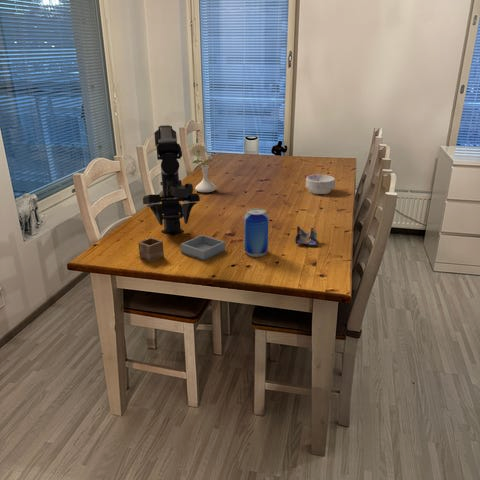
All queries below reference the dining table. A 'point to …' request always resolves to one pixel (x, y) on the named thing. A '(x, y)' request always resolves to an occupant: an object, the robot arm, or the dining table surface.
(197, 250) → the grey crate
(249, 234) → the beer can
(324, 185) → the paper bowls
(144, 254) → the walnut crate
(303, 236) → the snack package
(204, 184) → the flower in vase
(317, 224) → the dining table surface
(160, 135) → the robot arm
